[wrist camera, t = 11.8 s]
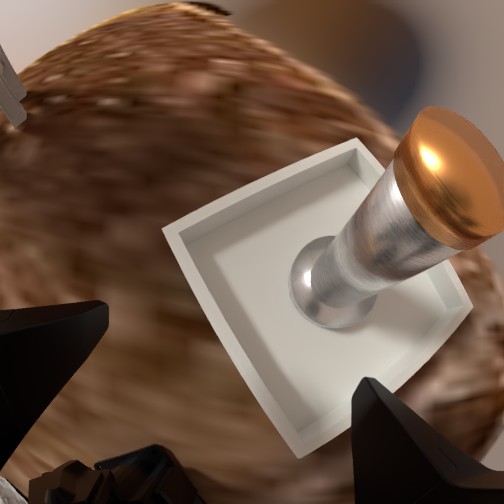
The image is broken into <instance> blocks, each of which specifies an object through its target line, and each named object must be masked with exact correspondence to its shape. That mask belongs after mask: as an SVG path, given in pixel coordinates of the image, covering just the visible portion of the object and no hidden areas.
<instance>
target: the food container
mask: <svg viewBox="0 0 504 504" xmlns="http://www.w3.org/2000/svg"><path fill="white" fill-rule="evenodd" d="M1 477H2V476H1ZM1 477H0V504H27V501H26V500H25V499H24V498H23V497H22V496H21V495H20V494H18V493H17V492H16V490H15V489H14V488H13V487H12V486H11V485H10V483H9V482H8V481H7V480H6V479H5V477H4V478H1Z"/></svg>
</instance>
